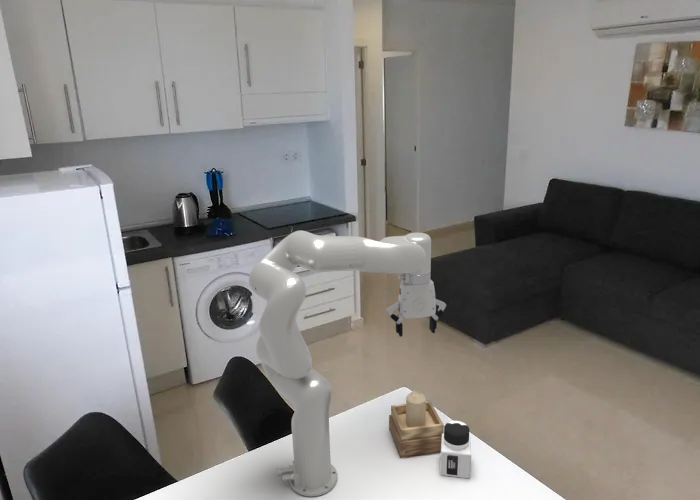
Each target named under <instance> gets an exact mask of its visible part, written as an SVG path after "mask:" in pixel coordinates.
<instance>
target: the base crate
mask: <svg viewBox="0 0 700 500" xmlns="http://www.w3.org/2000/svg"><path fill="white" fill-rule="evenodd" d="M388 430H389V432H390V436H391V438H392V440H393V443H394V446H395V448H396V451H397V454H398V457H399V459H403V458H409V457H418V456H424V455H431V454H439V453H440V454H441V440H442V436H438V437H431V438H423V439H416V440H409V441H401V439H400V436H399V434H398V431H397V429H396V427H395V424H394V422H393V419H392V417H391V414H388Z"/></svg>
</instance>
